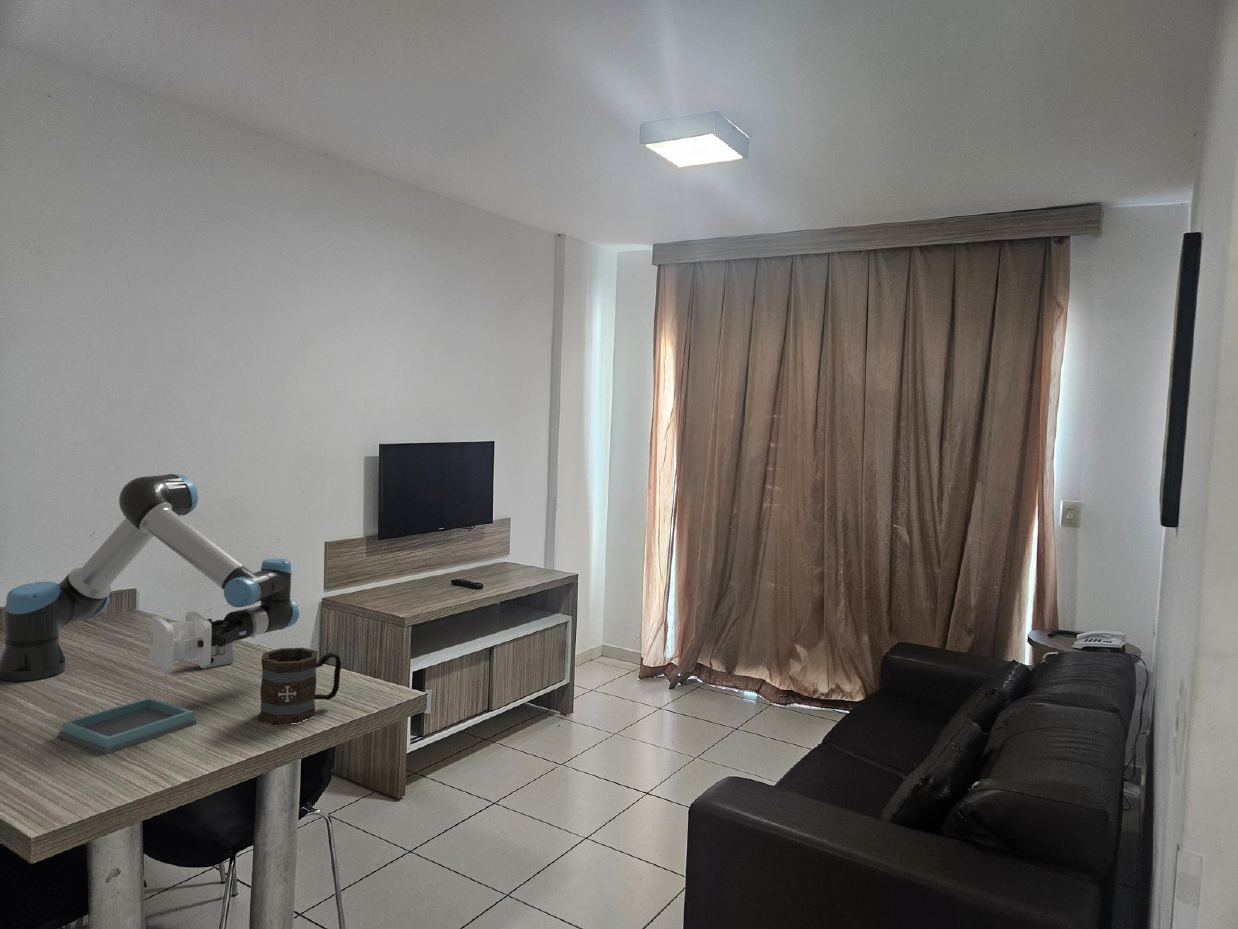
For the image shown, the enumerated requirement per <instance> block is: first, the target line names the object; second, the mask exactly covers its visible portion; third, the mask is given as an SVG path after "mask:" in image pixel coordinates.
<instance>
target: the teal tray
mask: <svg viewBox="0 0 1238 929" xmlns="http://www.w3.org/2000/svg"><path fill="white" fill-rule="evenodd" d="M194 725H197V719H195V718H194V711H192V710H190V709H187V708H184V707H180V706H178V705H175V704H171V703H168V702H165V701H161V700H159V699H156V698H153V697H146V698H143V699H140V700H137V701H132V702H128V703H126V704H122V705H119V706H114V707H113V708H109V709H105V710H101V711H98V712H95V713H91V714H88V715H85V716H81V717H78V718H74V719H71V720H67V721H63V722H62V725H61V728H62V729H61V730H59V731H58V737H59V738H61V739H65V740H67V741H70V742H73V743H75V744H77V745H80V746H83V747H85V748H88V749H90V750H93V751H96V752H99V753H101V754H104V755H108V754H111V753H114V752H118V751H120V750H124V749H126V748H129V747H132V746H134V745H138V744H141V743H143V742H146V741H149V740H152V739H155V738H158V737H161V736H164V735H168V734H170V733H173V732H176V731H179V730H182V729H185V728H189V727H191V726H194Z"/></svg>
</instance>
